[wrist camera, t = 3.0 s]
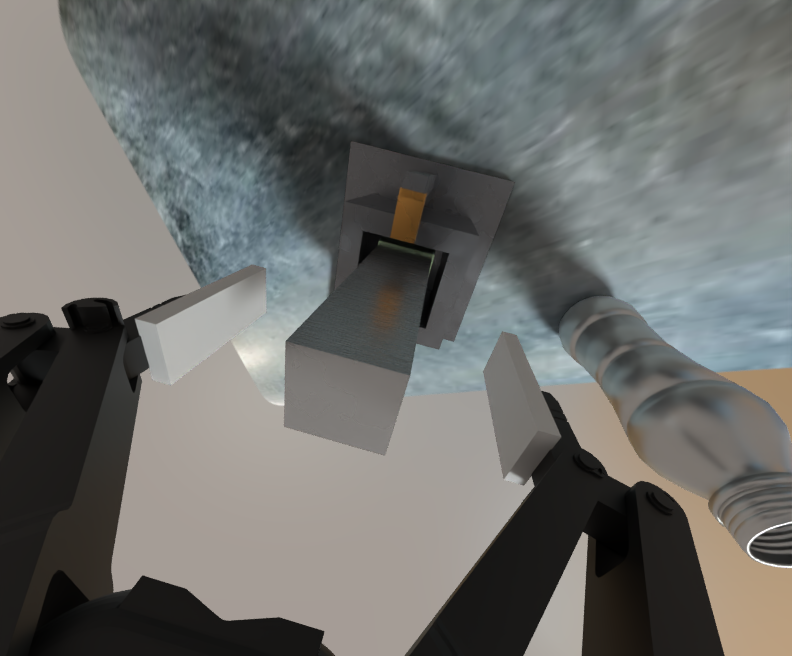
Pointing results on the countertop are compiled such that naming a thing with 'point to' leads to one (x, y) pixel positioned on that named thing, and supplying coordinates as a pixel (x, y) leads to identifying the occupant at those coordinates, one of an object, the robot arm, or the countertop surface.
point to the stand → (422, 225)
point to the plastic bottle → (691, 424)
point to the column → (359, 350)
